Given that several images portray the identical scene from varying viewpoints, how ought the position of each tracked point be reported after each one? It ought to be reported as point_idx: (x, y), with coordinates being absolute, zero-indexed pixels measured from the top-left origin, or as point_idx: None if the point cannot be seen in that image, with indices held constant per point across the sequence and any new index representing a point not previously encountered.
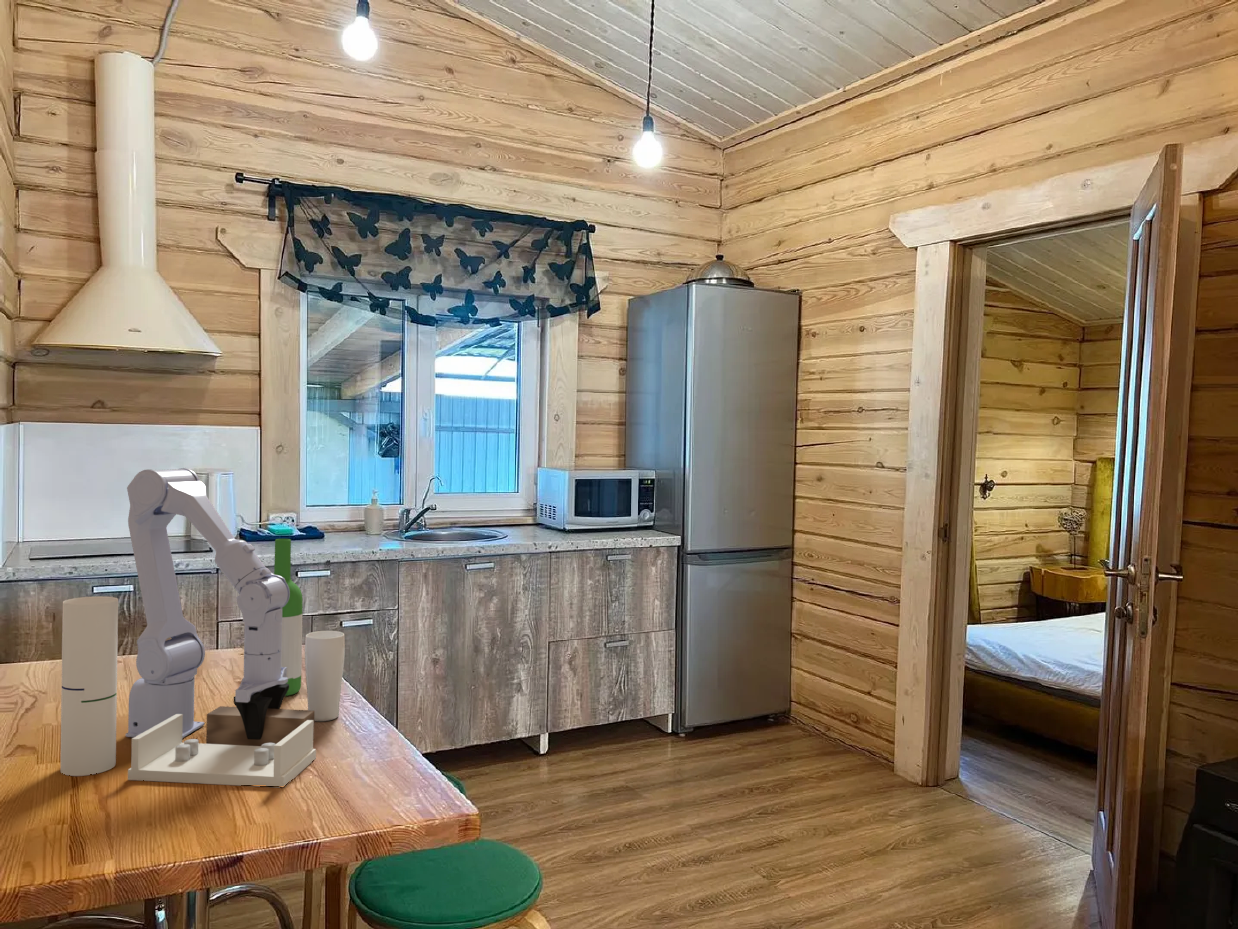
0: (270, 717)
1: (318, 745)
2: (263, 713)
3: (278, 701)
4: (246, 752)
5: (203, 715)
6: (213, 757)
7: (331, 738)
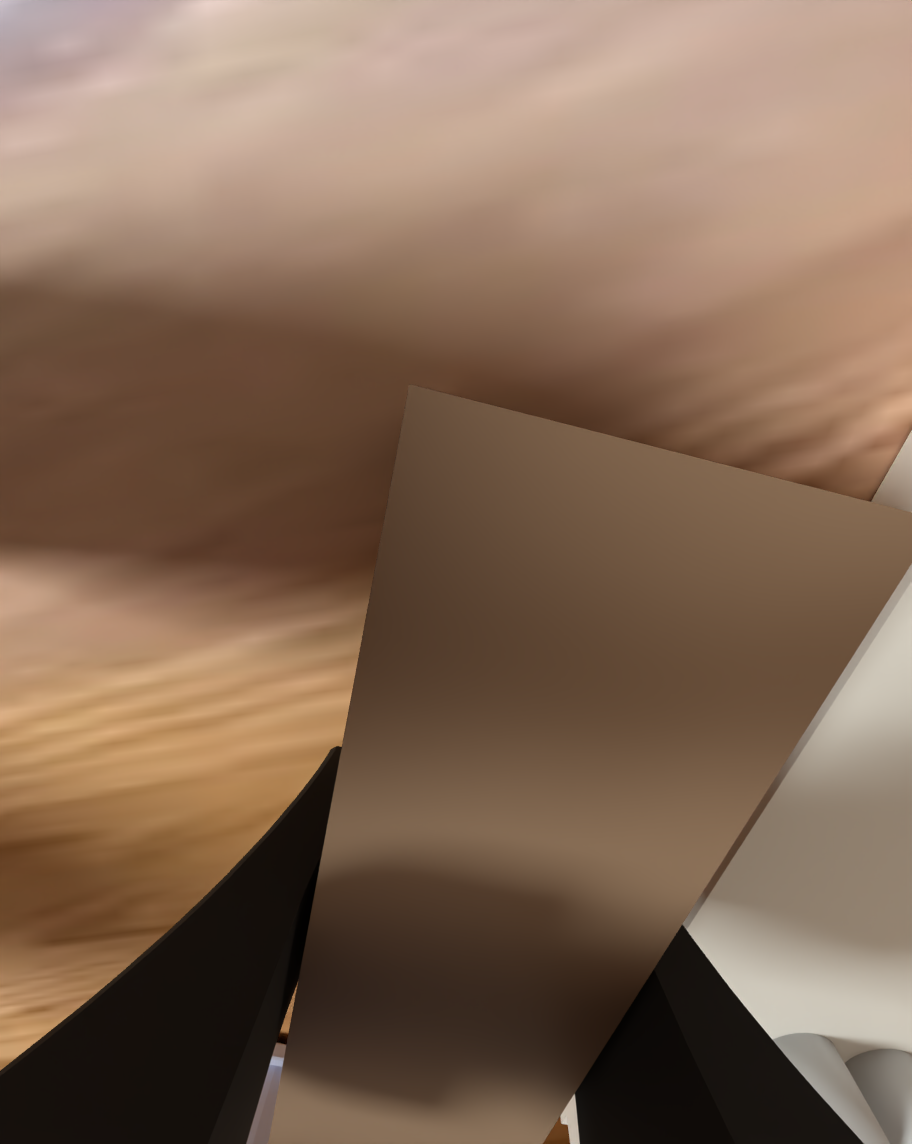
0: (671, 939)
1: (591, 328)
2: (802, 1098)
3: (251, 1037)
4: (897, 839)
5: (12, 1035)
6: (910, 972)
7: (391, 214)
